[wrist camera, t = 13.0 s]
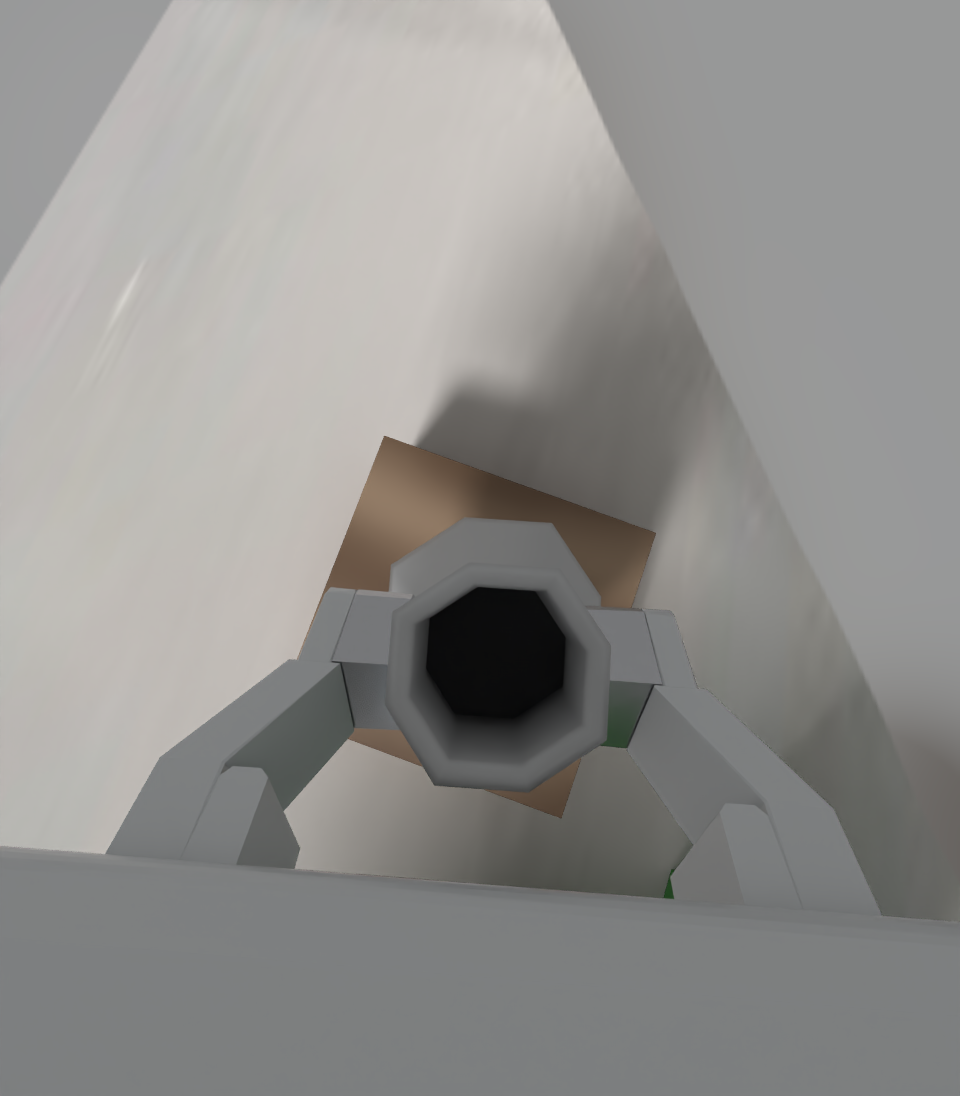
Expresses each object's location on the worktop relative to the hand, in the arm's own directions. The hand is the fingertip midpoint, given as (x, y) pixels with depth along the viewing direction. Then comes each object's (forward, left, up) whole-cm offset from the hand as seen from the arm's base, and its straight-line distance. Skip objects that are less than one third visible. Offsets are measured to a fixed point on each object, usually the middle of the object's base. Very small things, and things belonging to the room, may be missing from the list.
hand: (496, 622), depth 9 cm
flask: (0, 0, -8) cm, 8 cm away
